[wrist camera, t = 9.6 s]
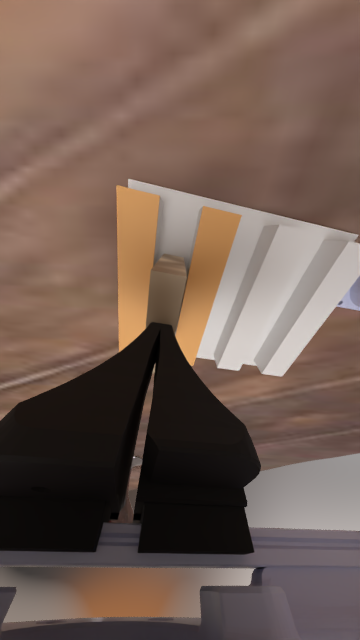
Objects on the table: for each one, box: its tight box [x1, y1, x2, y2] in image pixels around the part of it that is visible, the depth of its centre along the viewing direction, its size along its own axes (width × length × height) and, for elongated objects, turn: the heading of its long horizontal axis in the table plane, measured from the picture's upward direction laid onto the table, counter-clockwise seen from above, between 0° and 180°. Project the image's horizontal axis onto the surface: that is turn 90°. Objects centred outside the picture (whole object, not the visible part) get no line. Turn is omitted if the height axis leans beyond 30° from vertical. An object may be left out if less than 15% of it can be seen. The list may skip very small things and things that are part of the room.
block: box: [146, 254, 187, 373], centre depth 14 cm, size 2×8×8 cm, turn 170°
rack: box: [117, 179, 360, 376], centre depth 17 cm, size 22×18×3 cm
